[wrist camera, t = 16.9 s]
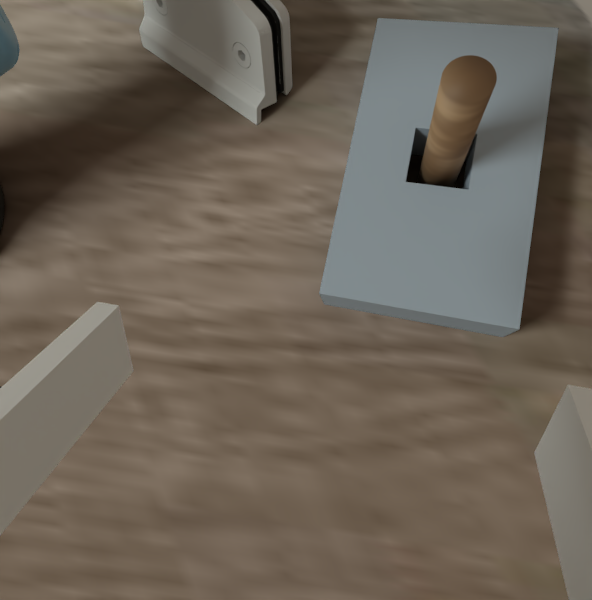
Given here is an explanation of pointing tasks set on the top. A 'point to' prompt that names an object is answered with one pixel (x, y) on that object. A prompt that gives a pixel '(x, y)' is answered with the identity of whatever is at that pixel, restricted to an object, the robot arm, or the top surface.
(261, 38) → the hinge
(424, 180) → the peg
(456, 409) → the top surface
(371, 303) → the hole block
